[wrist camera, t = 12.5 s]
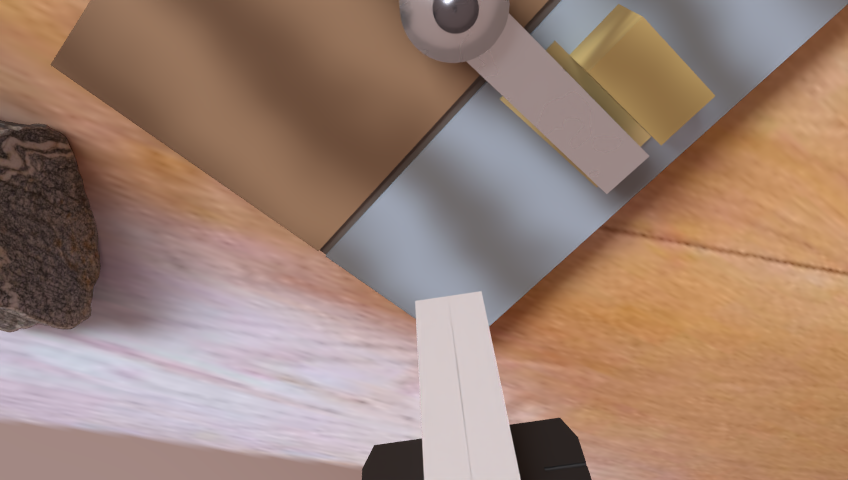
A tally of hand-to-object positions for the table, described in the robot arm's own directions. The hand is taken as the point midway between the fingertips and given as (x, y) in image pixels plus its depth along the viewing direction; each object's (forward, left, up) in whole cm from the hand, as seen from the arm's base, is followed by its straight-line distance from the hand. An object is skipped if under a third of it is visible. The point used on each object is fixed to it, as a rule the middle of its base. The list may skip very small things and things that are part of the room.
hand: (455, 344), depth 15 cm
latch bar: (-4, +2, -18) cm, 19 cm away
